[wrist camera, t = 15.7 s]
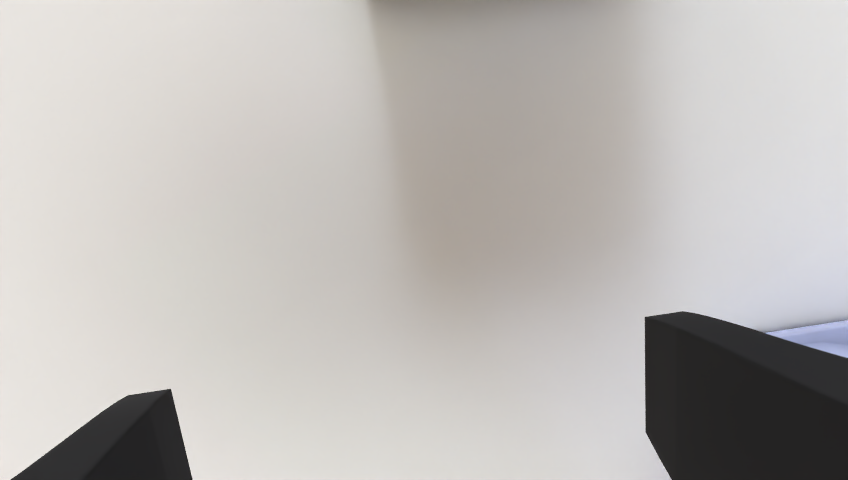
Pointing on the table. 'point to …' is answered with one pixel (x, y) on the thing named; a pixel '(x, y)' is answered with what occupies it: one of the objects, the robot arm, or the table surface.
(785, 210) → the table surface
